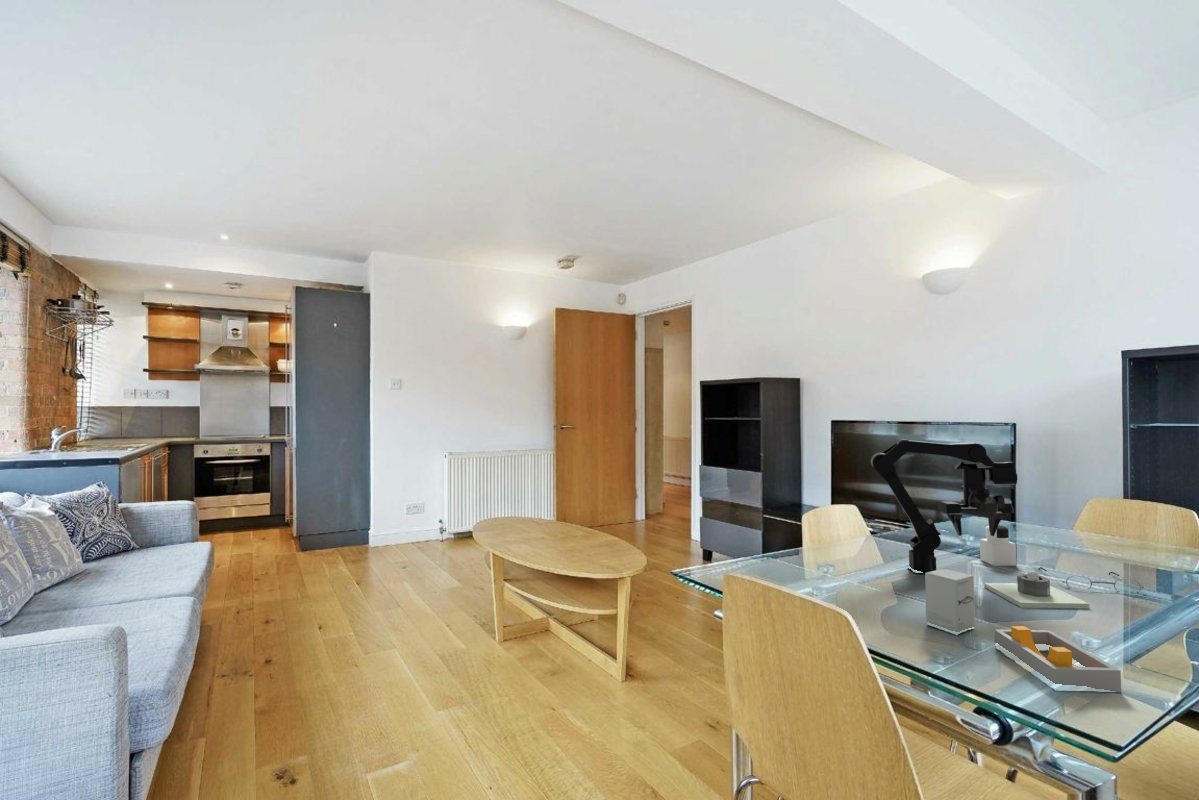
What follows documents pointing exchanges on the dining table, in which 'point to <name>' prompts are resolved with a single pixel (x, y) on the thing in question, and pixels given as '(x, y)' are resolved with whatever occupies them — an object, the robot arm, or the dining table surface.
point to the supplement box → (950, 599)
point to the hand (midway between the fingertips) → (975, 535)
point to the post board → (1027, 601)
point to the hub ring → (1033, 586)
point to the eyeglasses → (1099, 581)
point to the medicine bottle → (998, 548)
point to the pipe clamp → (1055, 656)
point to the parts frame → (1090, 675)
